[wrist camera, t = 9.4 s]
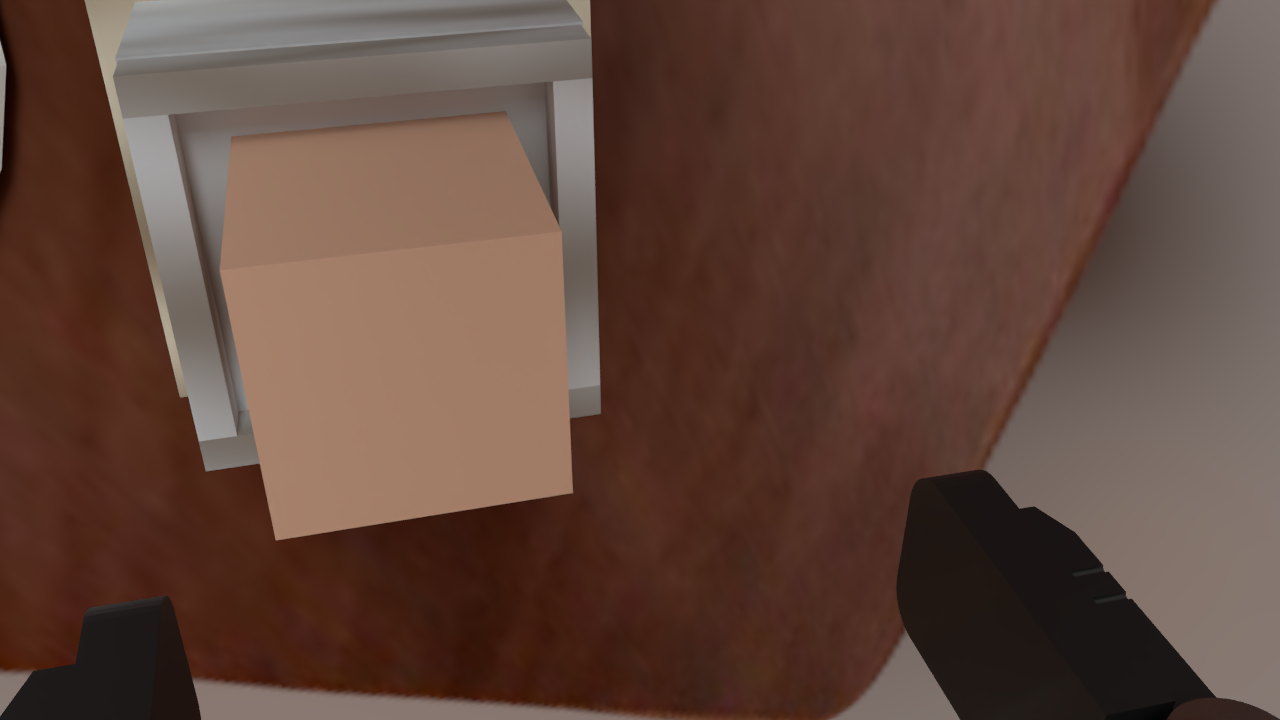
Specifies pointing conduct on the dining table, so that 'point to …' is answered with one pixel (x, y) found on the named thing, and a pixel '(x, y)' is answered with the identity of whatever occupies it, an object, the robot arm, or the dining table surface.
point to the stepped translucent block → (320, 98)
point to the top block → (397, 320)
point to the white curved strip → (2, 97)
